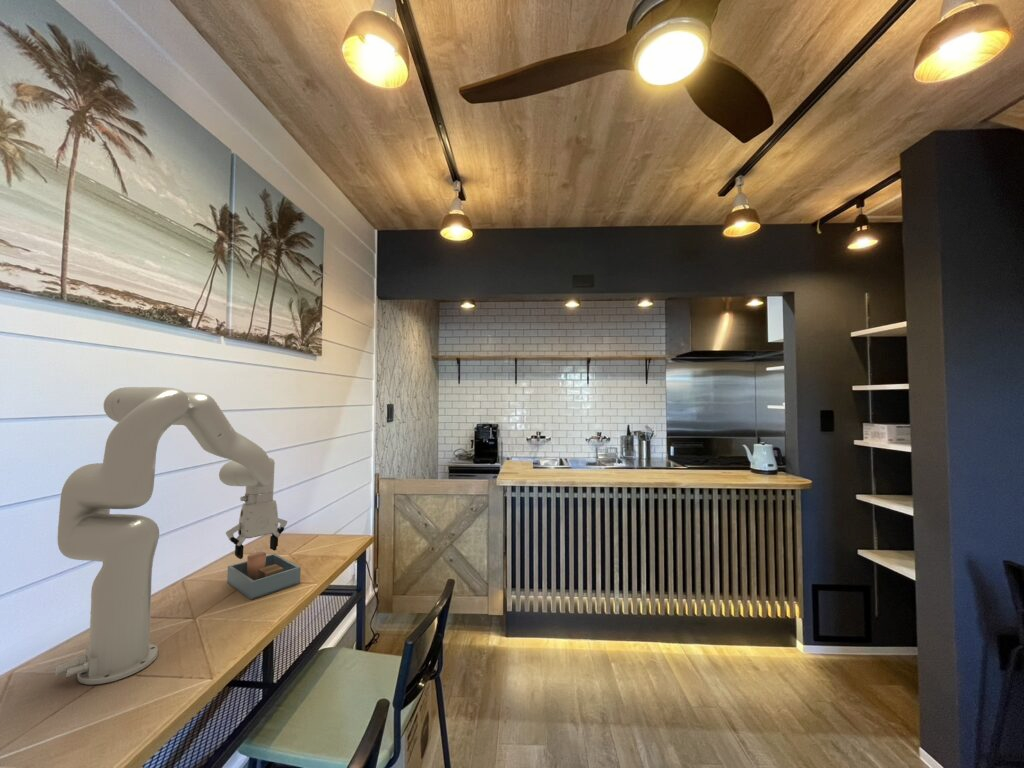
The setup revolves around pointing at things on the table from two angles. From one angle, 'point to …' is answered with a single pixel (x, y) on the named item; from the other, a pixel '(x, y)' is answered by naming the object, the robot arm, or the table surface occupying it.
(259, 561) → the salmon orange cylinder
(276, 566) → the walnut cube
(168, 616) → the table surface
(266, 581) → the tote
